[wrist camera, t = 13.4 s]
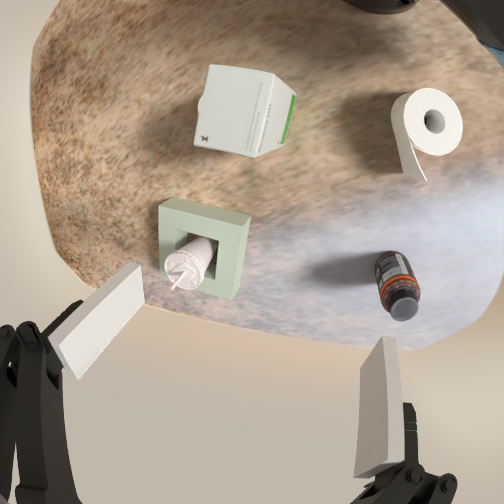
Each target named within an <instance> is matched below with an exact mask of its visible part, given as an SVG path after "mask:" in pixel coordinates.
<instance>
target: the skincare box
mask: <svg viewBox="0 0 504 504" xmlns="http://www.w3.org/2000/svg"><path fill="white" fill-rule="evenodd" d="M296 97H297V93H296V92H294V91H293V90H292V89H291V88H290V87H289V86H288V85H286V84H285V83H284V82H283V81H282V80H281V79H279V78H278V77H277V76H276V75H275V74H273V73H269V72H265V71H259V70H254V69H248V68H241V67H233V66H224V65H214V64H210V65H209V67H208V72H207V76H206V80H205V84H204V88H203V93H202V96H201V98H200V100H199V102H198V113H199V114H198V119H197V125H196V131H195V137H194V143H193V144H194V146H198V147H204V148H209V149H214V150H219V151H224V152H229V153H234V154H239V155H243V156H248V157H252V158H256V157H258V156H260V155H263V154H265V153H267V152H270V151H272V150H275V149H277V148H280V147H282V146H284V145H285V141H286V137H287V133H288V129H289V125H290V121H291V117H292V112H293V108H294V104H295V100H296Z"/></svg>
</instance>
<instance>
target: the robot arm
mask: <svg viewBox="0 0 504 504" xmlns="http://www.w3.org/2000/svg"><path fill="white" fill-rule="evenodd" d="M344 1H345V2H347V3H349V4H351V5H353V6H355V7H358V8H360V9H363V10H366V11H370V12H375V13H381V14H396V13H401V12H405V11H407V10H409V9H411V8H412V7H413V6H414V5H415V4H416V3H417V2H418V0H344ZM439 1H441V2H442V3H443V4H444V5H445V6H446V7H447V8H448V9H449V10H451V11H452V12H453V13H454V14H455V15H456V16H457V17H458V18H459V19H460V20H461V21H462V22H463V23H464V24H465V25H466V26H467V27H468V28H469V29H470V31H471V32H472V33H473V34H474V35H475V36H476V39H477V40H478V41H479V43H480V44H481V45H482V46H484V47H485V48H487V50H488V51H489V52H490V53H491V54H492V55H493V57H494V58H495V59H496V60H497V61H498V63H499V64H500V65H501V66H502V67H503V68H504V0H439ZM144 303H145V301H144V293H143V284H142V274H141V265H140V264H137V263H134V262H131V261H129V262H128V263H127V264H126V265H125V266H123V267H122V268H121V269H120V270H119V271H118V272H117V273H115V274H114V275H113V276H112V277H111V278H110V279H109V280H107V281H106V282H105V283H104V284H103V285H102V286H101V287H100V288H99V289H97V290H96V291H95V292H94V293H93V294H92V295H91V296H90V297H89V298H88V299H87V300H86V301H82V300H79V301H77V302H74V303H72V304H71V305H70V306H69V307H68V308H67V309H66V310H65V311H64V312H62V313H61V315H60V316H58V317H57V318H56V319H55V320H54V321H53V322H52V323H51V324H50V325H49V326H48V327H47V328H46V329H45V330H44V331H43V332H42V333H40V332H39V329H38V327H37V326H36V324H35V323H33V322H32V321H26V322H23V323H21V324H20V325H19V326H18V327H17V328H16V331H15V330H14V328H13V327H12V326H11V325H4V326H2V327H0V504H9V503H8V499H9V496H10V491H11V482H12V470H13V459H14V451H15V443H16V449H17V460H18V469H19V476H20V483H19V485H18V486H16V488H15V497H16V501H17V504H82V503H81V501H80V500H79V498H78V496H77V493H76V489H75V485H74V480H73V476H72V471H71V466H70V460H69V454H68V448H67V440H66V433H65V423H64V410H63V391H62V371H61V370H62V368H63V367H64V368H65V370H66V371H67V373H68V374H69V375H71V376H72V377H73V378H75V379H76V380H78V381H79V380H80V378H81V377H82V376H83V375H84V373H85V372H86V371H87V369H88V368H89V367H90V366H91V365H92V363H93V362H94V361H95V360H96V358H97V357H98V356H99V355H100V354H101V352H102V351H103V350H104V349H105V348H106V346H107V345H108V344H109V343H110V342H111V341H112V339H113V338H114V337H115V336H116V335H117V333H118V332H119V331H120V330H121V329H122V328H123V327H124V325H125V324H126V323H127V322H128V321H129V320H130V318H131V317H132V316H133V315H134V314H135V313H136V312H137V311H138V309H139V308H140V307H141V306H142V305H143V304H144ZM9 362H11V365H10V367H9V366H8V365H9ZM416 431H417V425H416V412H415V410H414V408H413V406H412V403H405V402H404V403H403V401H402V390H401V380H400V371H399V364H398V356H397V349H396V342H395V338H391V337H386V336H382V337H381V338H380V340H379V341H378V343H377V344H376V346H375V347H374V349H373V350H372V352H371V353H370V355H369V356H368V358H367V359H366V361H365V362H364V364H363V365H362V366H361V368H360V408H359V426H358V440H357V451H356V462H355V469H354V478H370V477H373V476H375V481H373V482H371V483H368V484H366V485H365V486H364V488H366V487H367V488H366V489H365V490H364V491H363V492H362V493H361V494H360V495H359V496H358V497H357V498H356V499H355V500H354V501H353V502H351V503H350V504H451V502H452V500H453V497H454V495H455V492H456V489H457V479H456V477H455V476H454V475H452V474H449V473H447V474H444V475H442V476H440V477H439V476H435V475H432V474H429V473H427V472H425V470H424V468H423V467H422V465H420V464H419V462H418V438H417V432H416Z"/></svg>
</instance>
